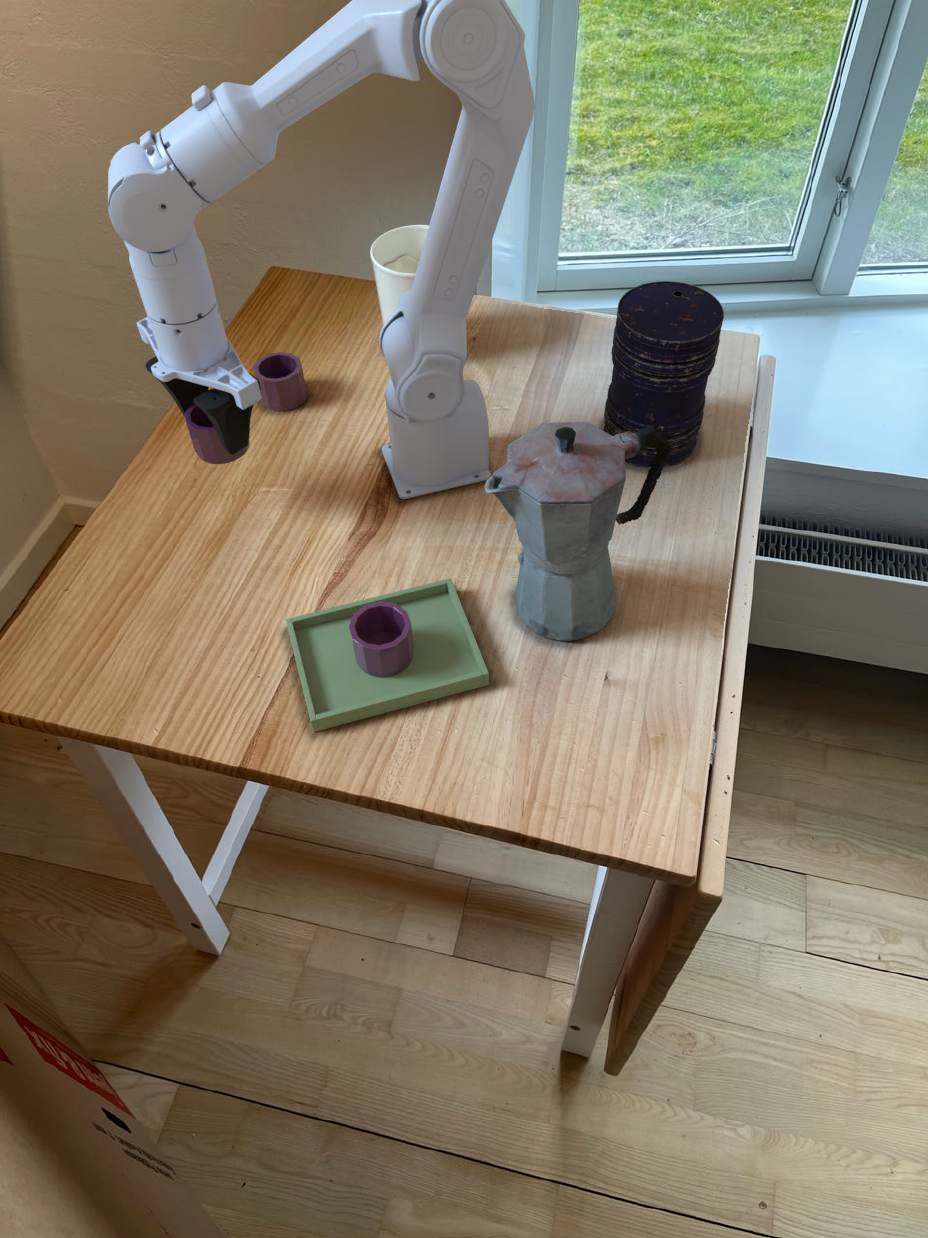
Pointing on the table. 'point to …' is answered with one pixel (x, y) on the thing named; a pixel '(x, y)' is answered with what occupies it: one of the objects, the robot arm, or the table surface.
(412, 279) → the white paper cup
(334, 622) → the tray
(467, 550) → the table surface
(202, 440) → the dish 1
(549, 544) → the moka pot
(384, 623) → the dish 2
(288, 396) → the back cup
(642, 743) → the table surface
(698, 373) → the storage jar
